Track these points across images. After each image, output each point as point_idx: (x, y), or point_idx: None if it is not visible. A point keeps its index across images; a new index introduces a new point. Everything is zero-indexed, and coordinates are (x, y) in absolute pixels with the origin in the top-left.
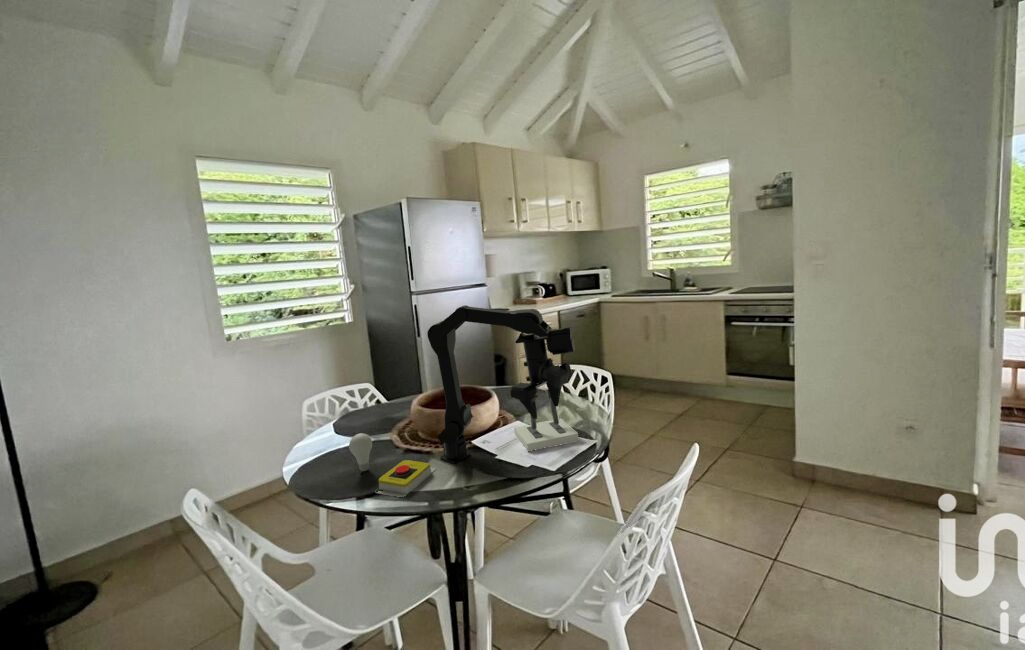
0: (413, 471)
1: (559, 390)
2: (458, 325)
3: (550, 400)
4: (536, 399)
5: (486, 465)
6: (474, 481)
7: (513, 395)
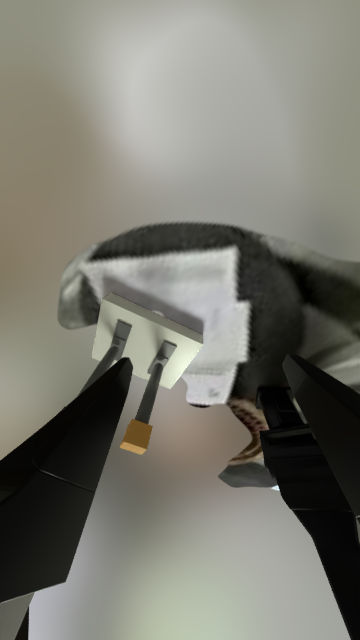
0: None
1: (41, 445)
2: None
3: None
4: (129, 425)
5: (277, 355)
6: (338, 338)
7: None
